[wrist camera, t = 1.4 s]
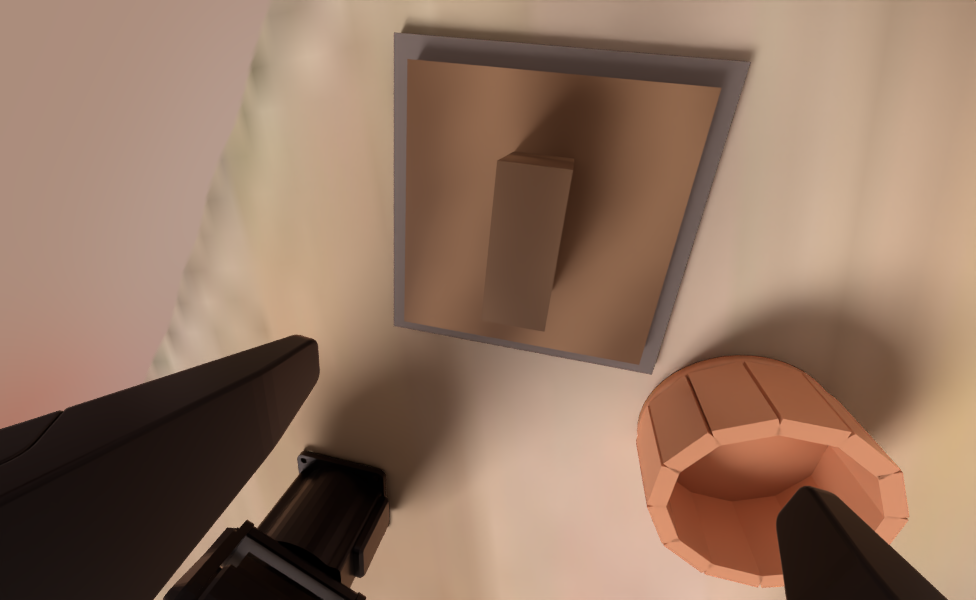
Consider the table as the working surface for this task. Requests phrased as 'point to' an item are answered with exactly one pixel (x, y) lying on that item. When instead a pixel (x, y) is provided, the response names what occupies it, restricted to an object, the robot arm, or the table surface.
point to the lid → (546, 202)
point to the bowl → (753, 463)
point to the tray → (579, 63)
